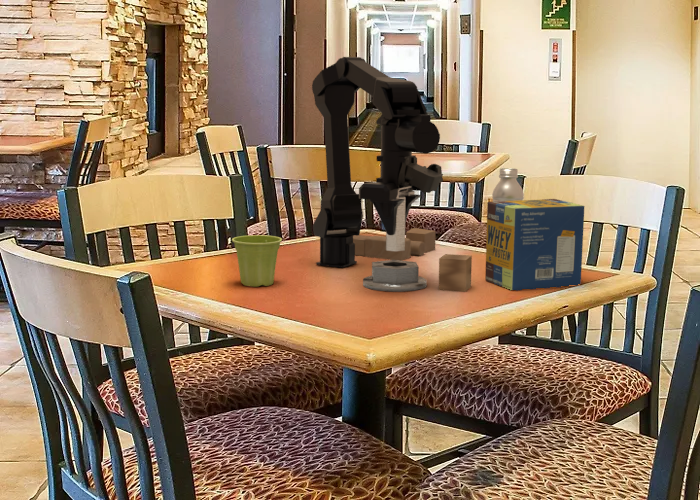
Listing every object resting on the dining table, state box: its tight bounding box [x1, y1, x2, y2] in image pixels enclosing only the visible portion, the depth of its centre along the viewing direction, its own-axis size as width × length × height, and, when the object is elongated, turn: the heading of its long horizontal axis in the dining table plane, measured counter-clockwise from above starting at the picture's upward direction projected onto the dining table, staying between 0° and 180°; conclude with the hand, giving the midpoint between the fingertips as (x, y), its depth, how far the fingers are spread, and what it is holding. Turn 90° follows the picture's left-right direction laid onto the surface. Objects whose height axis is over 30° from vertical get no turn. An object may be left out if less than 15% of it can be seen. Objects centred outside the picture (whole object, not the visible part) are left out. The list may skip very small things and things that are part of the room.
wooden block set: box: [353, 227, 437, 261], centre depth 225 cm, size 17×6×18 cm
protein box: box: [484, 198, 585, 291], centre depth 189 cm, size 10×15×16 cm
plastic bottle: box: [491, 167, 525, 202], centre depth 210 cm, size 6×7×20 cm
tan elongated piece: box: [385, 196, 406, 251], centre depth 186 cm, size 4×3×10 cm
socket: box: [362, 259, 428, 293], centre depth 187 cm, size 12×12×4 cm
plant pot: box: [231, 234, 283, 288], centre depth 187 cm, size 9×9×9 cm
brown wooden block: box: [438, 253, 473, 293], centre depth 185 cm, size 5×5×6 cm
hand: (395, 233), depth 186 cm, fingers closed on tan elongated piece, 3 cm apart
